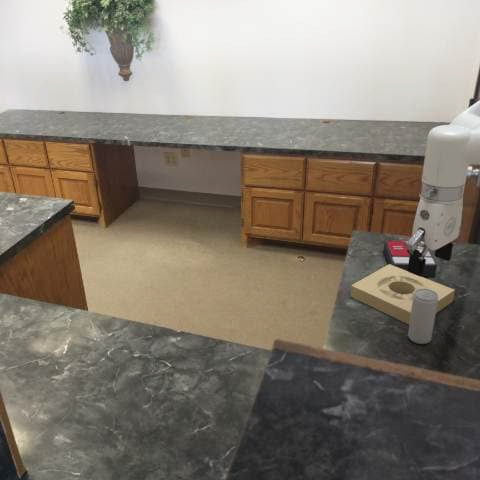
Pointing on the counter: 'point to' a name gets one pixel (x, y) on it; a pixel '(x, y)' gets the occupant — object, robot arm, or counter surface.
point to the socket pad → (397, 291)
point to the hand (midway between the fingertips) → (429, 266)
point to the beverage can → (422, 316)
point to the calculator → (407, 257)
